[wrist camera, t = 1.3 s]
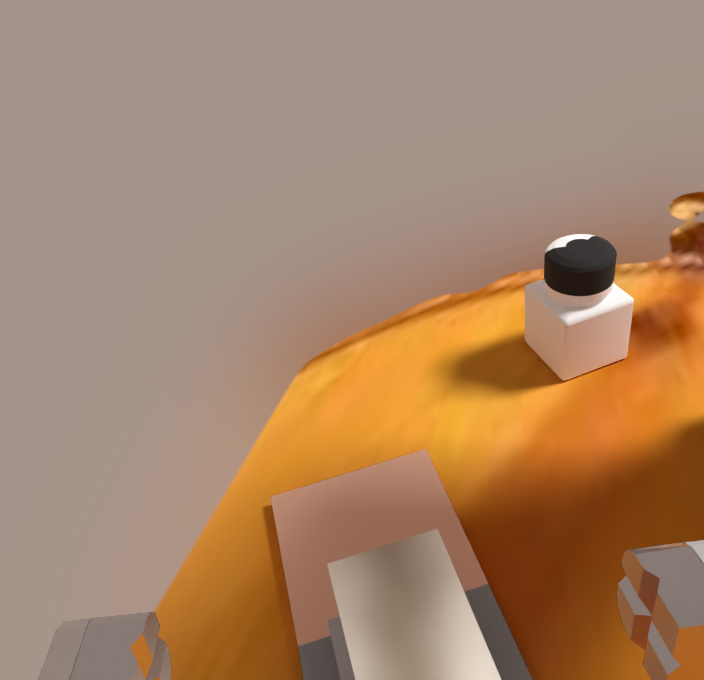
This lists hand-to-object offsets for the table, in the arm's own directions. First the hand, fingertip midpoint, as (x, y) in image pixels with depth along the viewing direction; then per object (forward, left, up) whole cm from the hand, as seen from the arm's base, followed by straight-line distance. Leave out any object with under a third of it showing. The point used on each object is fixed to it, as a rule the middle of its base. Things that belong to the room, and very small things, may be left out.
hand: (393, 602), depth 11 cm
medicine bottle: (-26, -39, -34) cm, 58 cm away
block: (-1, -10, -33) cm, 34 cm away
